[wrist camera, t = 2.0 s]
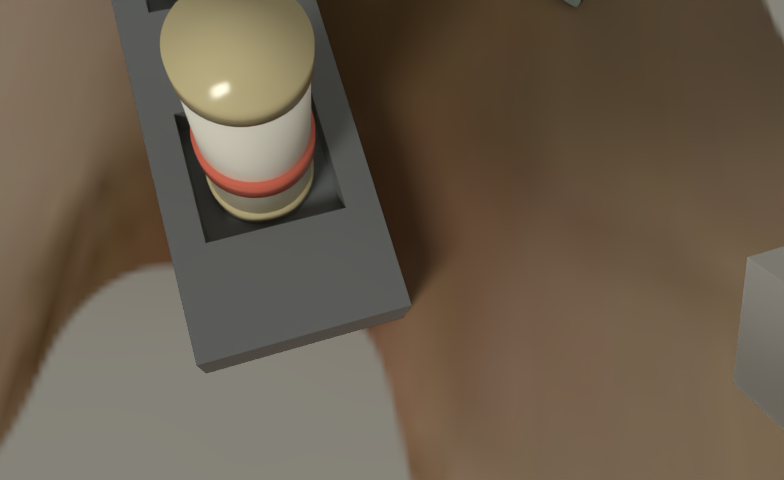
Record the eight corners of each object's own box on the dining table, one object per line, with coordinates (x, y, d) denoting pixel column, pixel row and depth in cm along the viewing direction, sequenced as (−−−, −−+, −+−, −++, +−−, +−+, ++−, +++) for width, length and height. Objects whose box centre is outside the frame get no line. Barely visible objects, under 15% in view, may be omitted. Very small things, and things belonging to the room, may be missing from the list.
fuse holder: (403, 317, 30) (411, 305, 28) (206, 373, 29) (196, 365, 26) (257, -157, 36) (253, -201, 33) (87, -130, 34) (70, -173, 32)
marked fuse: (185, 189, 30) (125, 59, 20) (247, 107, 31) (218, -51, 21) (276, 245, 29) (259, 141, 20) (334, 160, 31) (345, 24, 21)
